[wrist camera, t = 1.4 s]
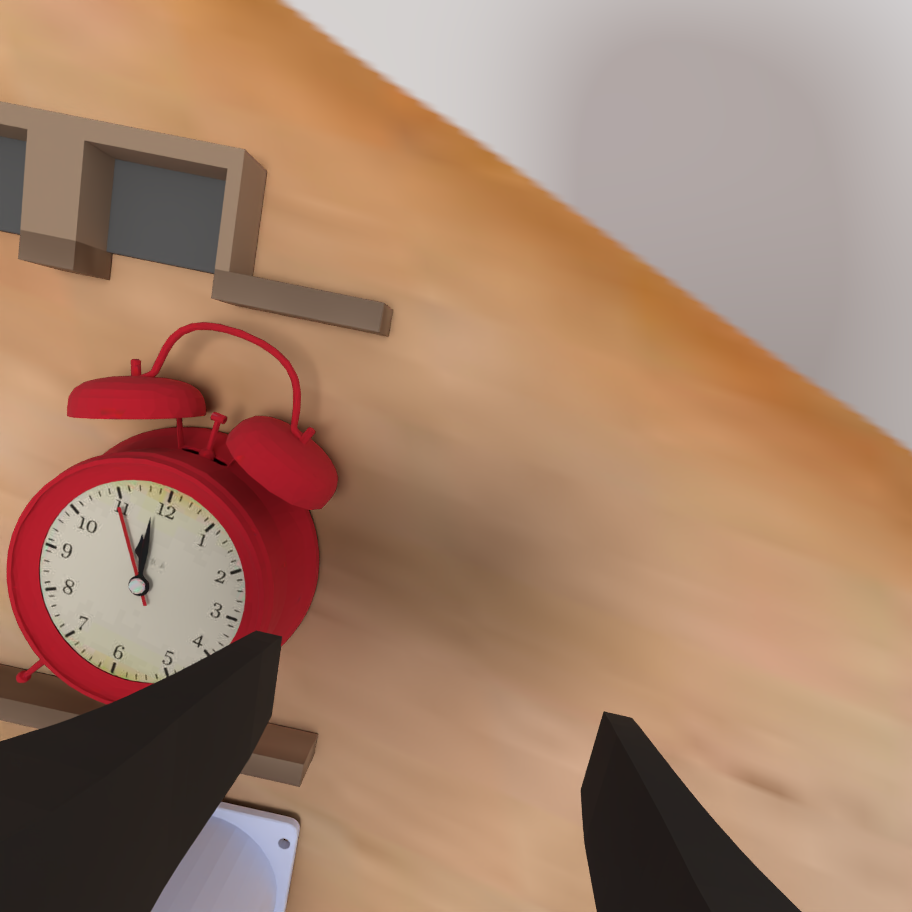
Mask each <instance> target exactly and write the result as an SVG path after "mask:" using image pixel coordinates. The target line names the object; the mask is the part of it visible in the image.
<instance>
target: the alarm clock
mask: <svg viewBox="0 0 912 912" xmlns="http://www.w3.org/2000/svg"><path fill="white" fill-rule="evenodd" d="M195 330H214V331H219V332H224V333H228V334H231V335H234V336H237V337H240V338H243V339H245V340H247V341H250V342H252V343H254V344H256V345H258V346H260V347H261V348H263V349H264V350H266V351H268V352H269V353H270V354H272V355H273V356H274V357H275V358H276V359H278V360H279V361H280V363H281V364H282V365H283V366H284V368H285V369H286V370H287V373H288V375H289V377H290V379H291V382H292V388H293V412H292V421H291V425H290V424H288V423H286V422H284V421H282V420H279V419H276V418H273V417H267V416H254V417H251V418H248V419H245V420H243V421H242V422H240V423H239V424H238V425H237V426H236V427H235V428H234V429H233V430H232V431H231V432H230V433H229V434H225V433H222V432H218V430H219V427H220V423H222V424H225V422H226V421H227V417H226V416H224V415H222V414H219V413H217V412H213V413H212V415H211V420H214V421H215V422H214V425H213V428H212V430H211V429H208V428H199V427H183V424H182V418H187V417H198V416H205V415H206V405H205V401H204V397H203V396H202V394H201V393H200V391H199V390H198V389H196V388H195V387H193V386H192V385H190V384H188V383H185V382H182V381H178V380H173V379H168V378H160V377H155V376H156V375H157V374H158V373H159V371H160V369H161V367H162V365H163V363H164V361H165V359H166V357H167V355H168V353H169V351H170V350H171V348H172V346H173V345H174V343H175V342H176V341H177V340H178V339H180V338H181V337H182V336H183V335H184V334H187V333H190V332H192V331H195ZM131 365H132V366H131V376H114V377H106V378H100V379H94V380H90V381H87V382H84V383H82V384H81V385H79V386H77V387H76V388H74V389H73V391H72V392H71V394H70V396H69V398H68V405H67V416H69V417H73V418H90V419H169V418H176V419H177V427H171V428H165V429H158V430H153V431H149V432H145V433H141V434H139V435H136V436H133V437H131V438H129V439H127V440H125V441H123V442H120V443H119V444H117V445H116V446H114V447H113V448H111V449H109V450H108V451H107V452H106V453H104V454H103V455H101V456H97V457H93V458H90V459H87V460H85V461H82V462H80V463H78V464H76V465H74V466H72V467H70V468H68V469H67V470H65V471H64V472H62V473H61V474H59V475H58V476H57V477H56V478H54V479H53V480H51V481H50V482H49V483H47V484H46V485H45V486H44V487H43V488H42V489H41V490H40V491H39V492H38V493H37V494H36V495H35V496H34V497H33V498H32V499H31V501H30V502H29V503H28V504H27V506H26V507H25V509H24V511H23V512H22V514H21V516H20V517H19V519H18V522H17V524H16V526H15V529H14V531H13V534H12V537H11V541H10V545H9V550H8V557H7V586H8V593H9V598H10V602H11V606H12V610H13V613H14V615H15V618H16V621H17V623H18V626H19V628H20V629H21V631H22V633H23V635H24V637H25V639H26V640H27V642H28V643H29V645H30V647H31V648H32V650H33V651H34V653H35V654H36V655H37V656H38V657H39V658H40V660H39V661H38V662H36V663H35V664H34V665H33V666H32V667H31V668H29V669H28V670H24V671H21V672H19V673H18V674H17V676H16V681H17V682H18V683H26V682H27V681H28V680H30V679H31V674H32V673H34V672H35V671H36V670H38V669H39V668H40V667H42V666H43V665H44V664H45V666H46V667H47V668H48V669H50V670H51V671H52V672H53V673H54V674H55V675H56V676H57V677H58V678H60V679H61V680H62V681H64V682H65V683H66V684H67V685H69V686H70V687H72V688H73V689H75V690H77V691H78V692H80V693H82V694H84V695H85V696H88V697H90V698H92V699H94V700H96V701H99V702H102V703H104V704H109V703H112V702H114V701H117V700H119V699H121V698H123V697H126V696H128V695H130V694H132V693H134V692H137V691H139V690H141V689H143V688H145V687H147V686H149V685H151V684H153V683H156V682H158V681H160V680H162V679H164V678H166V677H168V676H170V675H172V674H175V673H177V672H179V671H180V670H182V669H184V668H186V667H188V666H190V665H192V664H194V663H196V662H198V661H200V660H201V659H203V658H205V657H207V656H209V655H211V654H213V653H215V652H216V651H218V650H220V649H222V648H224V647H226V646H227V645H229V644H231V643H233V642H235V641H237V640H239V639H240V638H242V637H244V636H246V635H248V634H250V633H252V632H254V631H256V630H257V631H261V632H265V633H270V634H274V635H278V636H282V643H281V646H282V645H283V644H284V643H285V642H286V641H287V640H288V639H289V638H290V637H291V635H292V634H293V633H294V631H295V630H296V629H297V627H298V626H299V625H300V623H301V622H302V620H303V618H304V617H305V615H306V613H307V611H308V609H309V607H310V604H311V602H312V599H313V596H314V593H315V589H316V585H317V580H318V572H319V548H318V541H317V535H316V530H315V527H314V523H313V520H312V518H311V515H310V512H309V510H314V509H322V507H323V506H324V505H325V504H326V503H327V502H328V501H329V500H330V499H331V498H332V496H333V494H334V493H335V491H336V487H337V481H338V476H337V472H336V469H335V467H334V465H333V463H332V461H331V460H330V458H329V457H328V456H327V455H326V453H325V452H324V451H323V450H322V448H321V447H319V446H318V445H317V444H316V443H315V442H314V441H313V440H312V439H311V437H312V436H313V435H314V434H315V430H314V429H313V428H311V427H309V428H308V429H307V430H306V431H305V432H304V433H302V432H301V431H300V430H298V428H297V425H298V420H299V415H300V405H301V391H300V384H299V379H298V376H297V374H296V372H295V371H294V369H293V367H292V365H291V363H290V362H289V361H288V360H287V359H286V358H285V357H284V356H283V355H282V354H281V353H280V352H279V351H278V350H277V349H276V348H274V347H273V346H271V345H270V344H268V343H267V342H265V341H264V340H262V339H259V338H257V337H255V336H253V335H251V334H249V333H247V332H245V331H243V330H239V329H236V328H232V327H229V326H225V325H222V324H216V323H206V322H201V323H191V324H188V325H186V326H183V327H181V328H179V329H178V330H177V331H175V332H174V333H173V334H172V335H170V337H169V338H168V339H167V341H166V342H165V344H164V345H163V347H162V349H161V351H160V353H159V355H158V357H157V359H156V361H155V363H154V365H153V367H152V369H151V371H149V372H148V373H145V374H142V375H141V361H140V360H139V359H132V360H131Z"/></svg>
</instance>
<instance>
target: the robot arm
mask: <svg viewBox="0 0 912 912" xmlns="http://www.w3.org/2000/svg"><path fill="white" fill-rule="evenodd" d="M281 643H282V636H278V635H274V634H270V633H265V632H261V631H257V630H256V631H254V632H252V633H250V634H248V635H246V636H244V637H242V638H240V639H239V640H237V641H235V642H233V643H231V644H229V645H227V646H226V647H224V648H222V649H220V650H218V651H216V652H215V653H213V654H211V655H209V656H207V657H205V658H203V659H201V660H200V661H198V662H196V663H194V664H192V665H190V666H188V667H186V668H184V669H182V670H180V671H179V672H177V673H175V674H172V675H170V676H168V677H166V678H164V679H162V680H160V681H158V682H156V683H153V684H151V685H149V686H147V687H145V688H143V689H141V690H139V691H137V692H134V693H132V694H130V695H128V696H126V697H123V698H121V699H119V700H117V701H114V702H112V703H109V704H107V705H104V706H102V707H100V708H97V709H94V710H92V711H89V712H87V713H84V714H81V715H79V716H76V717H74V718H71V719H68V720H65V721H63V722H60V723H57V724H54V725H51V726H48V727H45V728H41V729H38V730H35V731H32V732H29V733H26V734H23V735H20V736H16V737H13V738H10V739H7V740H4V741H1V742H0V912H285V910H286V904H287V899H288V893H289V887H290V882H291V876H292V871H293V865H294V859H295V854H296V848H297V842H298V837H299V831H300V825H299V823H298V822H297V821H296V820H295V819H294V818H291V817H288V816H283V815H279V814H274V813H270V812H265V811H261V810H256V809H252V808H247V807H243V806H238V805H234V804H230V803H225V802H221V801H222V800H223V798H224V797H225V795H226V794H227V792H228V791H229V789H230V788H231V786H232V785H233V783H234V782H235V780H236V779H237V777H238V776H239V774H240V773H241V771H242V770H243V768H244V766H245V765H246V763H247V762H248V760H249V759H250V757H251V755H252V753H253V751H254V749H255V747H256V745H257V743H258V742H259V740H260V738H261V736H262V734H263V732H264V730H265V728H266V726H267V724H268V722H269V720H270V718H271V716H272V709H273V702H274V694H275V687H276V680H277V672H278V665H279V657H280V650H281ZM581 804H582V820H583V832H584V843H585V849H586V855H587V860H588V866H589V872H590V877H591V883H592V888H593V893H594V899H595V904H596V909H597V912H801V911H800V910H799V909H798V908H797V907H796V906H795V905H794V904H793V903H792V902H791V901H790V900H789V899H788V898H787V897H786V896H785V895H784V894H783V893H782V892H781V891H780V890H779V889H778V888H777V887H776V886H775V885H774V884H773V883H772V882H771V881H770V880H769V879H768V878H767V877H766V876H765V875H764V874H763V873H762V872H761V871H760V870H759V869H758V868H757V867H756V866H755V865H754V864H753V863H752V862H751V860H750V859H749V858H748V857H747V856H746V855H745V854H744V853H743V852H742V851H741V850H740V849H739V848H738V846H737V845H736V844H735V843H734V842H733V841H732V840H731V839H730V837H729V836H728V835H727V834H726V833H725V832H724V831H723V830H722V828H721V827H720V826H719V825H718V824H717V823H716V822H715V821H714V819H713V818H712V817H711V816H710V815H709V813H708V812H707V811H706V810H705V809H704V808H703V806H702V805H701V804H700V803H699V802H698V800H697V799H696V798H695V797H694V795H693V794H692V793H691V792H690V791H689V789H688V788H687V787H686V786H685V784H684V783H683V782H682V781H681V779H680V778H679V777H678V776H677V774H676V773H675V772H674V771H673V769H672V768H671V767H670V765H669V764H668V763H667V762H666V760H665V759H664V758H663V756H662V755H661V754H660V753H659V751H658V750H657V749H656V747H655V746H654V745H653V744H652V742H651V741H650V740H649V738H648V737H647V736H646V735H645V733H644V732H643V731H642V729H641V728H640V727H639V726H638V724H637V723H636V722H635V721H634V720H633V719H632V718H630V717H626V716H621V715H617V714H613V713H608V712H603V716H602V719H601V722H600V726H599V729H598V733H597V736H596V740H595V743H594V746H593V750H592V753H591V757H590V760H589V763H588V767H587V770H586V774H585V777H584V780H583V784H582V787H581ZM284 838H285V839H287V840H288V841H285V840H283V839H284Z"/></svg>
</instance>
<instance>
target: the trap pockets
mask: <svg viewBox="0 0 912 912" xmlns="http://www.w3.org/2000/svg"><path fill="white" fill-rule="evenodd" d="M266 174H267V170H265V169H264V168H263V167H262V166H261V165H260V164H259V163H258V162H257V161H256V160H255V159H254V158H253V157H252V156H251V155H250V154H249V153H248V152H247V151H246V150H245V149H240V148H235V147H230V146H225V145H220V144H215V143H210V142H205V141H200V140H195V139H189V138H184V137H179V136H174V135H169V134H164V133H159V132H154V131H149V130H144V129H138V128H133V127H128V126H123V125H118V124H113V123H108V122H103V121H98V120H93V119H87V118H82V117H77V116H72V115H67V114H62V113H57V112H52V111H47V110H42V109H36V108H31V107H26V106H21V105H16V104H11V103H6V102H1V101H0V231H4V232H9V233H14V234H19V235H20V230H25V231H30V232H35V233H40V234H45V235H50V236H54V237H59V238H64V239H69V240H74V241H78V242H81V243H84V244H86V245H89V246H92V247H95V248H98V249H101V250H104V251H107V252H110V253H113V254H118V255H123V256H128V257H133V258H138V259H143V260H148V261H153V262H158V263H162V264H167V265H172V266H177V267H182V268H187V269H192V270H197V271H202V272H207V273H212V274H214V272H215V269H218V270H223V271H228V272H233V273H238V274H243V275H248V276H253V269H254V262H255V254H256V247H257V240H258V232H259V225H260V218H261V210H262V203H263V196H264V188H265V181H266Z"/></svg>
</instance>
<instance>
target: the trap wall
mask: <svg viewBox="0 0 912 912" xmlns="http://www.w3.org/2000/svg"><path fill="white" fill-rule="evenodd" d="M18 259H20V260H24V261H28V262H31V263H35V264H39V265H43V266H47V267H50V268H54V269H58V270H63V271H67V272H72V273H77V274H82V275H87V276H92V277H97V278H102V279H107V280H109V279H110V269H111V259H112V253H110V252H107V251H104V250H101V249H98V248H95V247H92V246H89V245H86V244H84V243H81V242H78V241H74V240H69V239H64V238H59V237H54V236H50V235H45V234H40V233H35V232H30V231H25V230H20V242H19V256H18ZM211 298H212V299H216V300H219V301H222V302H225V303H229V304H232V305H235V306H240V307H245V308H250V309H255V310H260V311H265V312H270V313H275V314H280V315H284V316H289V317H294V318H299V319H304V320H309V321H314V322H319V323H324V324H329V325H334V326H339V327H344V328H349V329H354V330H358V331H363V332H368V333H373V334H378V335H383V336H389V331H390V325H391V320H392V314H393V309H391V308H390V307H389V306H388V305H386V304H385V303H382V302H377V301H372V300H367V299H362V298H357V297H352V296H347V295H342V294H337V293H332V292H328V291H323V290H318V289H313V288H308V287H303V286H298V285H293V284H288V283H283V282H278V281H273V280H268V279H263V278H258V277H253V276H248V275H243V274H238V273H233V272H228V271H223V270H218V269H215V272H214V280H213V288H212V296H211ZM21 671H24V669H20V668H15V667H11V666H6V665H1V664H0V720H2V721H6V722H11V723H15V724H20V725H24V726H29V727H33V728H38V729H41V728H45V727H48V726H51V725H54V724H57V723H60V722H63V721H65V720H68V719H71V718H74V717H76V716H79V715H81V714H84V713H87V712H89V711H92V710H94V709H97V708H100V707H102V706H104V705H107V704H104V703H102V702H99V701H96V700H94V699H92V698H90V697H88V696H85V695H84V694H82V693H80V692H78V691H77V690H75V689H73V688H72V687H70V686H69V685H67V684H66V683H65V682H64V681H62V680H61V679H60V678H58V677H56V676H51V675H47V674H42V673H38V672H34V673H32V674H31V679H30V680H28V681H27V682H26V683H18V682H17V681H16V676H17V674H18V673H19V672H21ZM317 736H318V734H315V733H310V732H306V731H301V730H297V729H292V728H288V727H283V726H279V725H274V724H270V723H268V724H267V726H266V728H265V730H264V732H263V734H262V736H261V738H260V740H259V742H258V743H257V745H256V747H255V749H254V751H253V753H252V755H251V757H250V759H249V760H248V762H247V763H246V765H245V766H244V768H243V770H242V771H241V773H240V774H245V775H249V776H254V777H258V778H263V779H267V780H272V781H276V782H281V783H285V784H290V785H294V786H298V787H300V785H301V783H302V781H303V778H304V776H305V774H306V772H307V769H308V767H309V765H310V763H311V761H312V758H313V756H314V753H315V747H316V742H317Z"/></svg>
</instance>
